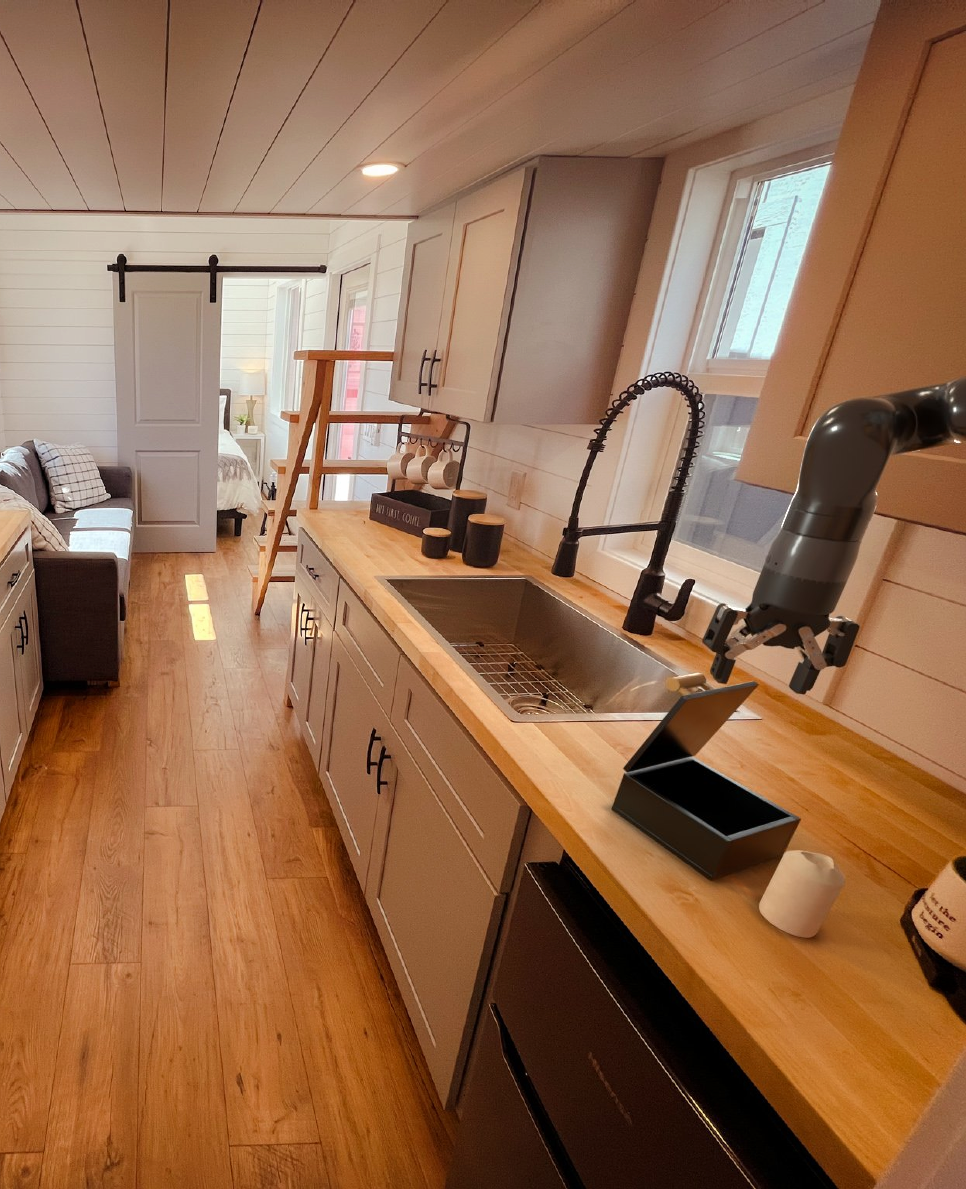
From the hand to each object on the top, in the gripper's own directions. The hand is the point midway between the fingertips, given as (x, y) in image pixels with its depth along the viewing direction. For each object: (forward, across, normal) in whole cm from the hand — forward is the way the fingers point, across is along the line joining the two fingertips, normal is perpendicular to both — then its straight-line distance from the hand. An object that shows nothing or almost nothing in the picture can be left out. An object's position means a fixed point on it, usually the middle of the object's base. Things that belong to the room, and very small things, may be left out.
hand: (757, 686), depth 83 cm
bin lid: (+11, -2, +6) cm, 12 cm away
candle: (+26, +5, -13) cm, 29 cm away
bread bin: (+26, +1, +2) cm, 26 cm away
